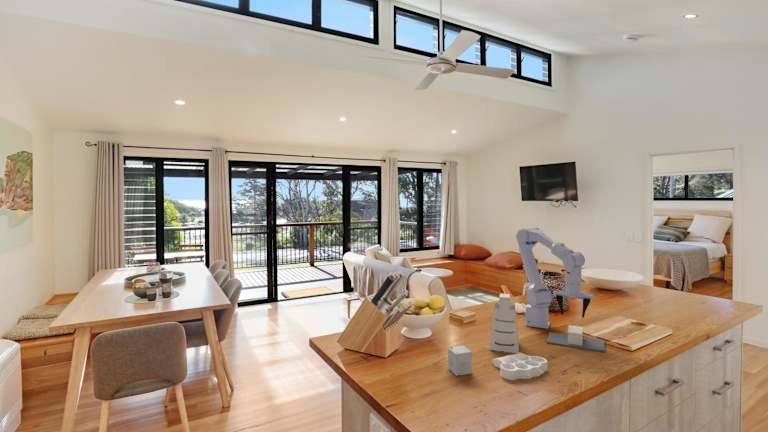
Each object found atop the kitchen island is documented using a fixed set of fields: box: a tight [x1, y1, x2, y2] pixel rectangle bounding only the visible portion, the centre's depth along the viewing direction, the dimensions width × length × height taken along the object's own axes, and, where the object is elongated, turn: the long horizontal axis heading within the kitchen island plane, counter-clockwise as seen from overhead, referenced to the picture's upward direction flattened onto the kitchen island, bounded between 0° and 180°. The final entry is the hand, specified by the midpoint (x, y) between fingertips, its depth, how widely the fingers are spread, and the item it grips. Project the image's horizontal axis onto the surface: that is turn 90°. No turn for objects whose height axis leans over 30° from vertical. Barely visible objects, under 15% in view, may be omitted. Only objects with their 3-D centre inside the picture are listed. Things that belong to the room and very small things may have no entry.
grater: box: [489, 293, 520, 354], centre depth 148 cm, size 10×10×20 cm
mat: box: [546, 331, 606, 353], centre depth 152 cm, size 20×12×1 cm, turn 61°
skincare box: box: [447, 345, 473, 377], centre depth 128 cm, size 6×6×7 cm
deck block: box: [567, 324, 584, 346], centre depth 152 cm, size 9×5×4 cm, turn 152°
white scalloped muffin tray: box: [491, 352, 548, 381], centre depth 128 cm, size 3×18×15 cm
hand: (572, 315), depth 156 cm, fingers open, 7 cm apart
